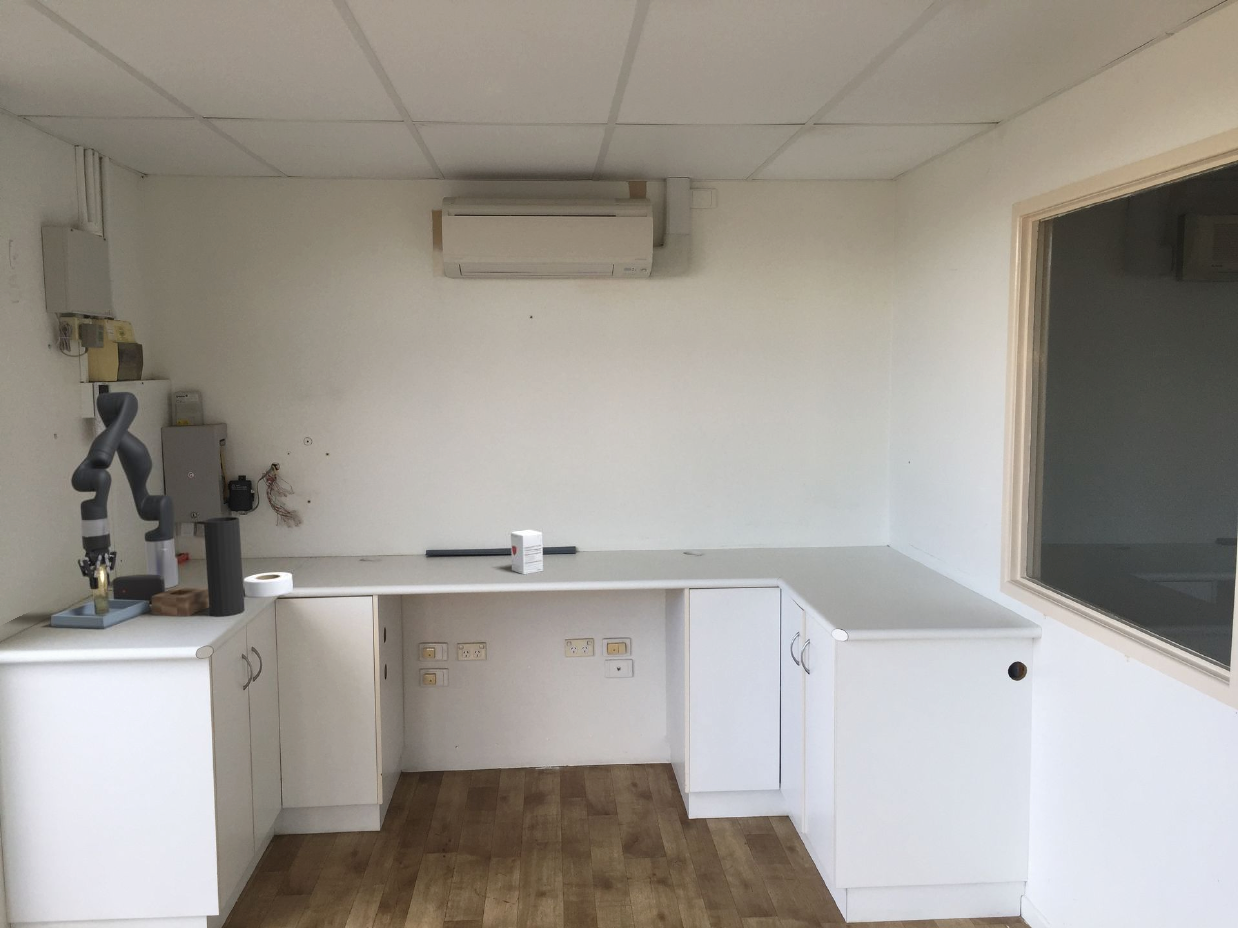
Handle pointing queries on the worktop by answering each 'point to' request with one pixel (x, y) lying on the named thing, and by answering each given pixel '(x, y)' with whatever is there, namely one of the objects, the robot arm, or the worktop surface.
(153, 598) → the walnut pin block
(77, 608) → the slate tray
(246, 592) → the roll of tape
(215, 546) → the vase
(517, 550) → the supplement box
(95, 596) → the brass pin
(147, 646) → the worktop surface
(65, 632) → the worktop surface
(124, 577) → the red-dot charcoal box
